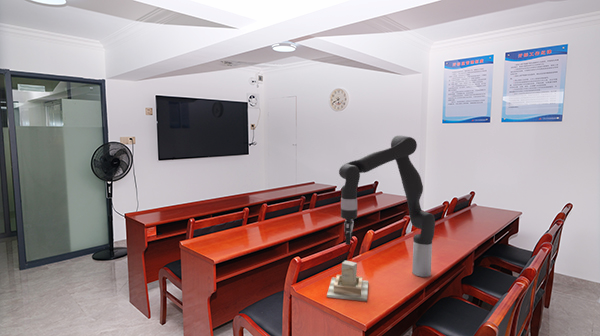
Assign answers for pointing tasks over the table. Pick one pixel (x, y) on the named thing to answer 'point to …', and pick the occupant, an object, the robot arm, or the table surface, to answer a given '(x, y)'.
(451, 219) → the table surface
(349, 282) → the skincare box
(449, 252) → the table surface
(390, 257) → the table surface
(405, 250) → the table surface
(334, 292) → the square collar plate
